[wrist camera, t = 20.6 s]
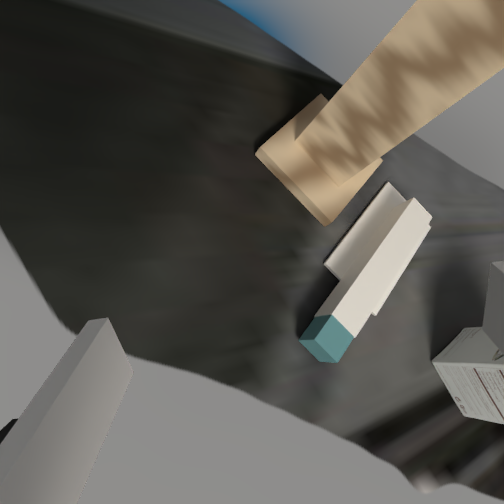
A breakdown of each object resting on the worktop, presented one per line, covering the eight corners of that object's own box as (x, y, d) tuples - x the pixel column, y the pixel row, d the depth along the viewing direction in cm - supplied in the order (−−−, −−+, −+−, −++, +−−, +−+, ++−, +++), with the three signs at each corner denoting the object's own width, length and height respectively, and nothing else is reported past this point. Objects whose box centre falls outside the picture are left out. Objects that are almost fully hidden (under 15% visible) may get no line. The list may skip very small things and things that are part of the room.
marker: (296, 339, 33) (314, 338, 30) (393, 207, 42) (414, 197, 39) (319, 362, 34) (338, 363, 31) (410, 226, 43) (432, 217, 40)
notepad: (323, 264, 37) (325, 263, 37) (386, 183, 43) (388, 181, 43) (373, 315, 38) (376, 315, 37) (428, 228, 44) (430, 227, 44)
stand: (254, 154, 37) (616, -348, 10) (314, 101, 43) (661, -328, 15) (324, 226, 38) (823, -62, 11) (374, 166, 43) (801, -133, 16)
